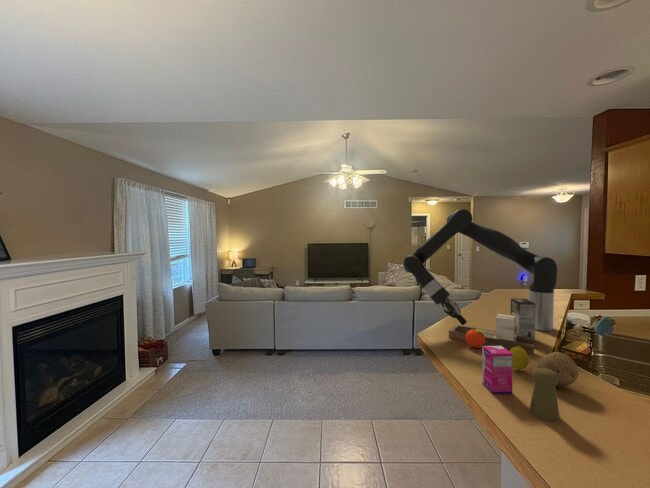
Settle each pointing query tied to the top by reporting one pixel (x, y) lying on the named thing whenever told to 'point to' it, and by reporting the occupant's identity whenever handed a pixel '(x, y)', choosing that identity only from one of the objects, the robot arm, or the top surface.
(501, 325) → the cream block
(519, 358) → the lemon
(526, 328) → the coffee box
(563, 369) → the natural sponge
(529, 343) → the walnut lane
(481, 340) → the clementine
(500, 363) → the supplement box
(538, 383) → the olive tapered cylinder
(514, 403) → the top surface
